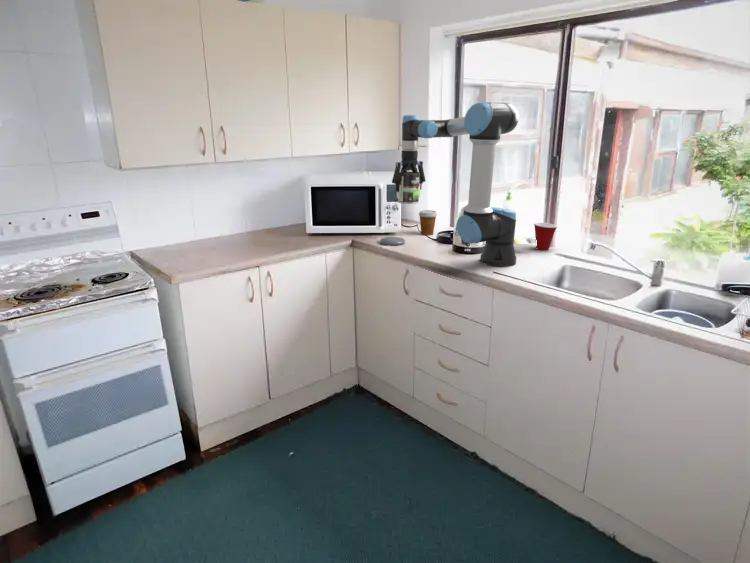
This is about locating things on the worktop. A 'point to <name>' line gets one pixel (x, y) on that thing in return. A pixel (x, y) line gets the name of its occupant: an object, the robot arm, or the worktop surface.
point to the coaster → (392, 241)
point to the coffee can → (409, 188)
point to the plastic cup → (544, 235)
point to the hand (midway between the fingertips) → (408, 197)
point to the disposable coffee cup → (427, 221)
